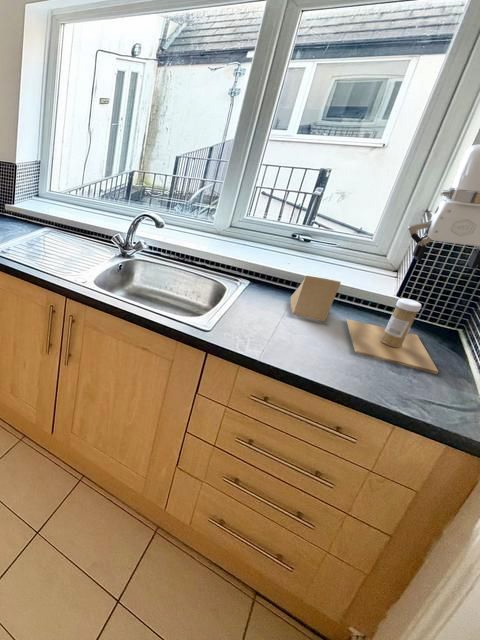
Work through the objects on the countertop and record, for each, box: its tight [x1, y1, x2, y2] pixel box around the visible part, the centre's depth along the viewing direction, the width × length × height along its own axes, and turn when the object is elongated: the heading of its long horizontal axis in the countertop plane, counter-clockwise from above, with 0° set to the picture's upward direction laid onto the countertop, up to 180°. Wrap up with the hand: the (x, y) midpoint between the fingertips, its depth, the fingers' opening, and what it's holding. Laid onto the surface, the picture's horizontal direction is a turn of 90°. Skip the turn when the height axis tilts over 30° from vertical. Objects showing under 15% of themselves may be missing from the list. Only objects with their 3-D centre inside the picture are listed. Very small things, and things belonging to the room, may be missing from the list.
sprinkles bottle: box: [380, 298, 422, 348], centre depth 115 cm, size 5×5×14 cm
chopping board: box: [345, 318, 439, 375], centre depth 119 cm, size 16×22×2 cm
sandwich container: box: [290, 275, 341, 322], centre depth 136 cm, size 9×15×15 cm, turn 148°
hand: (443, 263), depth 107 cm, fingers open, 9 cm apart
